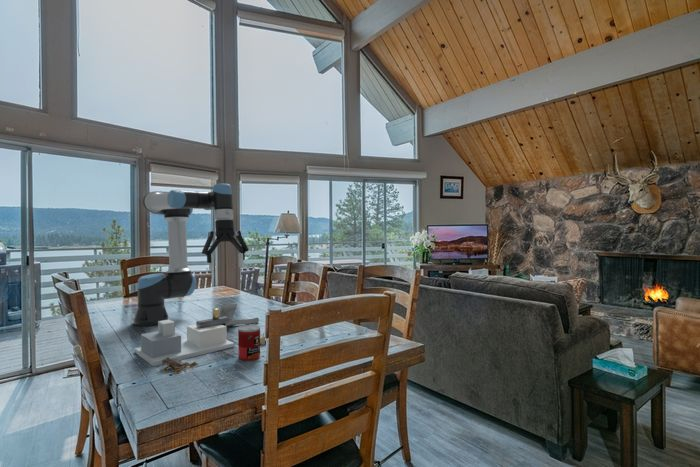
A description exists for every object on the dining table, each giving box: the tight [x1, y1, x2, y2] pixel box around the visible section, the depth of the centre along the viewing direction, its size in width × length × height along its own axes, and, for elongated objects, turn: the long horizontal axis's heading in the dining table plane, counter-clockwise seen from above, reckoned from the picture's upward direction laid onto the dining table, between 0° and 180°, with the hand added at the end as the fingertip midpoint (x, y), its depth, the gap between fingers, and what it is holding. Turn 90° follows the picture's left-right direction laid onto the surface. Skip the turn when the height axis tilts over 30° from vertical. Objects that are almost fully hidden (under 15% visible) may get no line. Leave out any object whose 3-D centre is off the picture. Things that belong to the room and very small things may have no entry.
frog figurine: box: [161, 358, 199, 374], centre depth 132 cm, size 12×12×4 cm
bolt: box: [196, 307, 229, 328], centre depth 159 cm, size 3×12×6 cm, turn 135°
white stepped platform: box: [134, 319, 235, 367], centre depth 152 cm, size 20×30×12 cm, turn 135°
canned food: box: [237, 324, 261, 362], centre depth 143 cm, size 8×8×11 cm
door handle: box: [219, 303, 260, 328], centre depth 191 cm, size 18×8×20 cm
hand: (227, 269), depth 168 cm, fingers open, 13 cm apart
